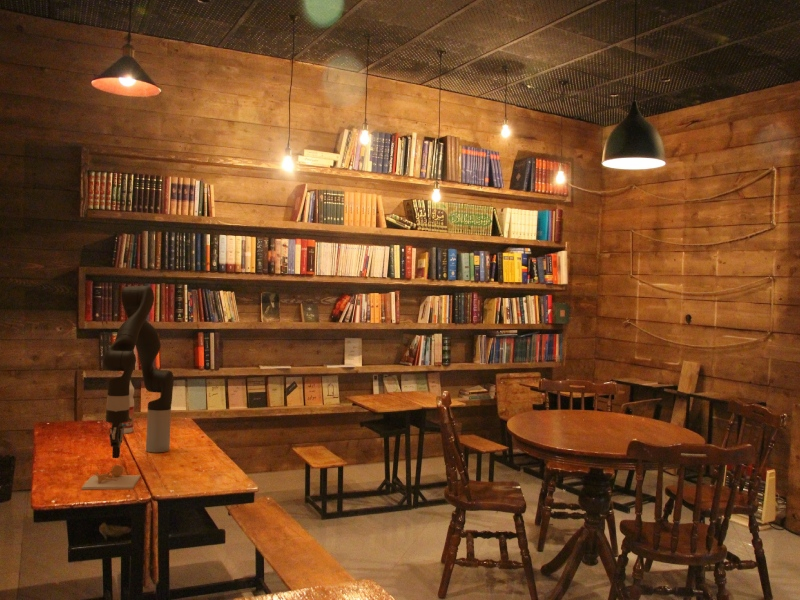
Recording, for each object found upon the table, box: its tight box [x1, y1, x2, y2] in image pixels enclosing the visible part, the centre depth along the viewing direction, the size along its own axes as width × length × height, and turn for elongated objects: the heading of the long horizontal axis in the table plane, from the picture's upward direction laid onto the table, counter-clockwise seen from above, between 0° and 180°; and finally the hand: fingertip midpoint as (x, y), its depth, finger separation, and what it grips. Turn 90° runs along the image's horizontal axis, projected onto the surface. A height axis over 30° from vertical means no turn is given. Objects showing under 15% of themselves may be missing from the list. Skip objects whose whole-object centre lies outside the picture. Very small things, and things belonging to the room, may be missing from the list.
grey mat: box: [80, 474, 141, 491], centre depth 243 cm, size 15×16×1 cm
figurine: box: [94, 464, 124, 483], centre depth 245 cm, size 8×6×12 cm
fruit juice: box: [118, 371, 135, 435], centre depth 330 cm, size 9×9×28 cm
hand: (115, 457), depth 248 cm, fingers closed
